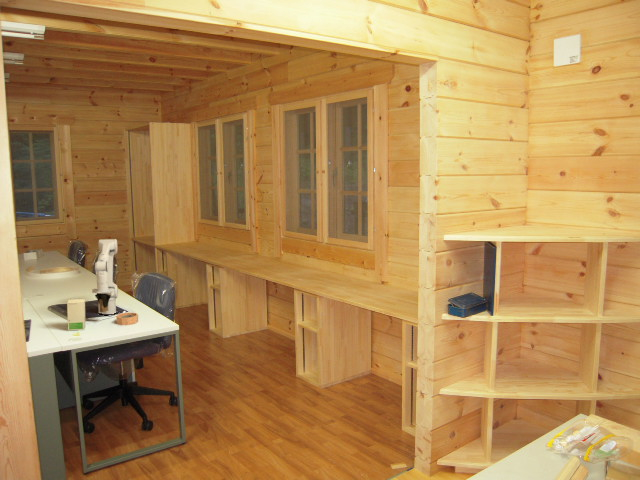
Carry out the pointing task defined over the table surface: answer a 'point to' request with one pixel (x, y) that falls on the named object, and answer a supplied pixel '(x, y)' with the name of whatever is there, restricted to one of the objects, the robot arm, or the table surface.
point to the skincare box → (76, 314)
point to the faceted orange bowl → (127, 318)
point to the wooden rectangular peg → (102, 306)
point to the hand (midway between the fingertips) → (103, 306)
